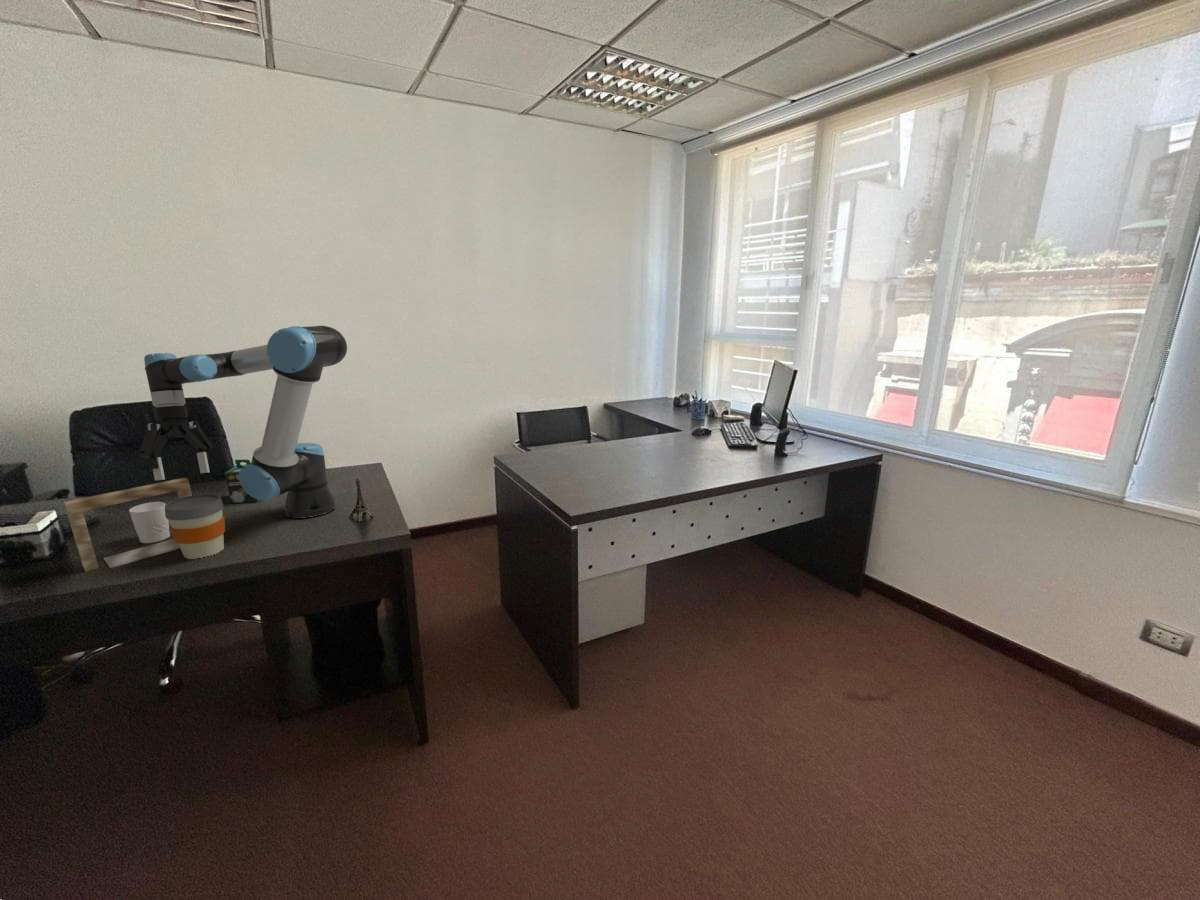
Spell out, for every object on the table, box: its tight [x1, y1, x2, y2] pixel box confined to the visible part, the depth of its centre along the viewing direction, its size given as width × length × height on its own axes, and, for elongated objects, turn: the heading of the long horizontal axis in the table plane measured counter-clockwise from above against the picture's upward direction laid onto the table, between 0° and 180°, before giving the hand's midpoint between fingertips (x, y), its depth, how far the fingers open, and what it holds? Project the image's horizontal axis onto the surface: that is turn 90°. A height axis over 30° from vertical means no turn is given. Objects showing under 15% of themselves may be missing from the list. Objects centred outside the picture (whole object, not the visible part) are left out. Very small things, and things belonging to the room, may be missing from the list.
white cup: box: [128, 501, 171, 544], centre depth 146 cm, size 8×8×10 cm
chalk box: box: [224, 459, 261, 504], centre depth 176 cm, size 9×9×15 cm
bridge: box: [63, 477, 193, 572], centre depth 136 cm, size 24×8×18 cm, turn 142°
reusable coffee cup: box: [165, 493, 226, 560], centre depth 138 cm, size 13×13×15 cm
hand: (183, 476), depth 151 cm, fingers open, 13 cm apart
